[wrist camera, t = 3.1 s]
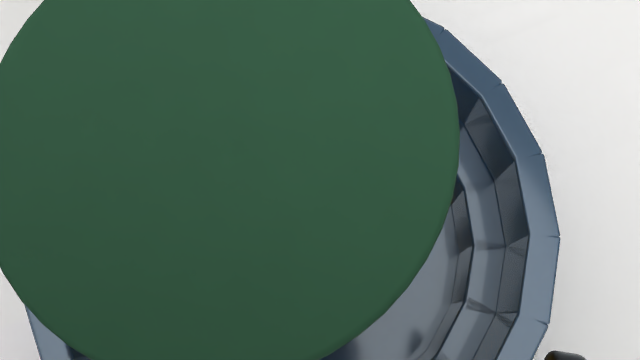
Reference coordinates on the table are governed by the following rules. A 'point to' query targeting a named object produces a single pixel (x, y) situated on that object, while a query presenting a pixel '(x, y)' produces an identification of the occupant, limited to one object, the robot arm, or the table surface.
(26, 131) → the green-capped yellow cylinder
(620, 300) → the table surface
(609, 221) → the table surface
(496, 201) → the bowl
